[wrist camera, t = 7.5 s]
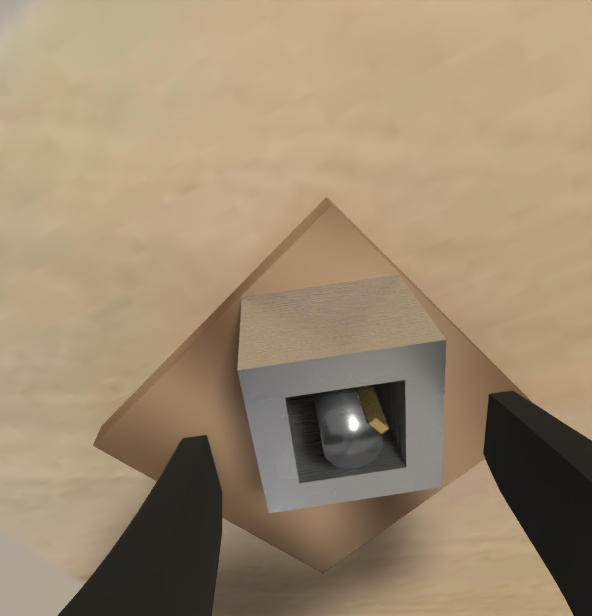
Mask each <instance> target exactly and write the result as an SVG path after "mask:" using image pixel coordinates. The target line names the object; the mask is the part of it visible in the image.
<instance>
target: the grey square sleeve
mask: <svg viewBox="0 0 592 616" xmlns="http://www.w3.org/2000/svg"><path fill="white" fill-rule="evenodd" d="M445 366H446V338H445V337H444V336H443V334H442V333H441V331H440V330H439V329H438V327H437V326H436V325H435V323H434V322H433V320H432V319H431V318H430V316H429V315H428V313H427V312H426V311H425V309H424V308H423V307H422V305H421V304H420V302H419V301H418V300H417V298H416V297H415V295H414V294H413V293H412V291H411V290H410V288H409V287H408V286H407V284H406V283H405V282H404V280H403V279H402V277H401V276H400V275H399V274H398V275H391V276H384V277H378V278H371V279H364V280H357V281H350V282H343V283H336V284H329V285H322V286H315V287H308V288H301V289H294V290H287V291H280V292H273V293H266V294H259V295H253V296H246V297H242V303H241V319H240V335H239V351H238V367H237V371H238V376H239V380H240V385H241V389H242V394H243V399H244V403H245V408H246V412H247V417H248V421H249V426H250V430H251V435H252V440H253V444H254V449H255V453H256V458H257V462H258V467H259V471H260V476H261V481H262V485H263V490H264V494H265V499H266V503H267V508H268V512H269V513H275V512H281V511H288V510H294V509H301V508H308V507H314V506H321V505H328V504H334V503H341V502H347V501H354V500H361V499H367V498H374V497H381V496H387V495H394V494H400V493H407V492H414V491H420V490H427V489H434V488H440V487H441V477H442V449H443V421H444V393H445ZM367 385H373V387H374V390H375V392H376V395H377V398H378V400H379V403H380V406H381V408H382V411H383V413H384V416H385V419H386V421H387V424H388V427H389V429H388V430H386V431H385V432H384V433H382V434H381V433H380V434H381V437H382V449H381V451H380V453H379V455H378V456H377V457H376V458H375V459H374V460H373V461H371V462H370V463H368V464H366V465H364V466H361V467H358V468H341V467H337V466H335V465H333V464H332V463H330V462H329V461H328V460H327V458H326V457H325V455H324V451H323V446H322V440H321V434H320V429H319V423H318V418H317V412H316V407H315V401H314V396H313V393H320V392H327V391H333V390H340V389H347V388H354V387H361V386H367Z"/></svg>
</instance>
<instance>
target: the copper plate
mask: <svg viewBox="0 0 592 616" xmlns="http://www.w3.org/2000/svg"><path fill="white" fill-rule="evenodd" d="M398 274H399V275H400V276H401V277H402V279H403V280H404V282H405V283H406V284H407V286H408V287H409V288H410V290H411V291H412V293H413V294H414V295H415V297H416V298H417V300H418V301H419V302H420V304H421V305H422V307H423V308H424V309H425V311H426V312H427V313H428V315H429V316H430V318H431V319H432V320H433V322H434V323H435V325H436V326H437V327H438V329H439V330H440V331H441V333H442V334H443V336H444V337H445V338H446V366H445V393H444V421H443V449H442V477H441V487H440V488H434V489H427V490H420V491H414V492H407V493H400V494H394V495H387V496H381V497H374V498H367V499H361V500H354V501H347V502H341V503H334V504H328V505H321V506H314V507H308V508H301V509H294V510H288V511H281V512H275V513H269V512H268V508H267V503H266V499H265V494H264V490H263V485H262V481H261V476H260V471H259V467H258V462H257V458H256V453H255V449H254V444H253V440H252V435H251V430H250V426H249V421H248V417H247V412H246V408H245V403H244V399H243V394H242V389H241V385H240V380H239V376H238V371H237V367H238V351H239V335H240V319H241V303H242V297H246V296H253V295H259V294H266V293H273V292H280V291H287V290H294V289H301V288H308V287H315V286H322V285H329V284H336V283H343V282H350V281H357V280H364V279H371V278H378V277H384V276H391V275H398ZM512 390H513V391H514V392H516V393H518V394H519V395H521V396H522V397H524V398H526V399H527V400H529V399H528V398H527V397H526V396H525V395H524V394H523V393H522V392H521V391H520V390H519V389H518V388H517V387H516V386H515V385H514V384H513V383H512V382H511V381H510V380H509V379H508V378H507V377H506V376H505V375H504V374H503V373H502V372H501V371H500V370H499V369H498V368H497V367H496V366H495V365H494V364H493V363H492V362H491V361H490V360H489V359H488V358H487V357H486V356H485V355H484V354H483V353H482V352H481V351H480V350H479V349H478V348H477V347H476V346H475V345H474V344H473V343H472V342H471V341H470V340H469V339H468V338H467V337H466V336H465V335H464V334H463V333H462V332H461V331H460V330H459V329H458V328H457V327H456V326H455V325H454V324H453V323H452V322H451V321H450V320H449V319H448V318H447V317H446V316H445V315H444V314H443V313H442V312H441V311H440V310H439V309H438V308H437V307H436V306H435V305H434V304H433V303H432V302H431V301H430V300H429V299H428V298H427V297H426V296H425V295H424V294H423V293H422V292H421V291H420V290H419V289H418V288H417V287H416V286H415V285H414V284H413V283H412V282H411V281H410V280H409V279H408V278H407V277H406V276H405V275H404V274H403V273H402V272H401V271H400V270H399V269H398V268H397V267H396V266H395V265H394V264H393V263H392V262H391V261H390V260H389V259H388V258H387V257H386V256H385V255H384V254H383V253H382V252H381V251H380V250H379V249H378V248H377V247H376V246H375V245H374V244H373V243H372V242H371V241H370V240H369V239H368V238H367V237H366V236H365V235H364V234H363V233H362V232H361V231H360V230H359V229H358V228H357V227H356V226H355V225H354V224H353V223H352V222H351V221H350V220H349V219H348V218H347V217H346V216H345V215H344V214H343V213H342V212H341V211H340V210H339V209H338V208H337V207H336V206H335V205H334V204H333V203H332V202H331V201H330V200H329V199H328V198H327V197H326V198H325V199H324V200H323V201H322V202H321V203H320V204H319V206H318V207H317V208H316V209H315V210H314V211H313V212H312V213H311V214H310V215H309V216H308V217H307V218H306V219H305V220H304V221H303V222H302V223H301V224H300V225H299V226H298V227H297V228H296V229H295V230H294V231H293V232H292V233H291V234H290V235H289V236H288V237H287V238H286V239H285V240H284V241H283V242H282V243H281V244H280V245H279V246H278V247H277V248H276V249H275V250H274V251H273V252H272V253H271V254H270V255H269V256H268V257H267V258H266V260H265V261H264V262H263V263H262V264H261V265H260V266H259V267H258V268H257V269H256V270H255V271H254V272H253V273H252V274H251V275H250V276H249V277H248V278H247V279H246V280H245V281H244V282H243V283H242V284H241V285H240V286H239V287H238V288H237V289H236V290H235V291H234V292H233V293H232V294H231V295H230V296H229V297H228V298H227V299H226V300H225V301H224V302H223V303H222V304H221V305H220V306H219V307H218V308H217V309H216V310H215V311H214V312H213V313H212V315H211V316H210V317H209V318H208V319H207V320H206V321H205V322H204V323H203V324H202V325H201V326H200V327H199V328H198V329H197V330H196V331H195V332H194V333H193V334H192V335H191V336H190V337H189V338H188V339H187V340H186V341H185V342H184V343H183V344H182V345H181V346H180V347H179V348H178V349H177V350H176V351H175V352H174V353H173V354H172V355H171V356H170V357H169V358H168V359H167V360H166V361H165V362H164V363H163V364H162V365H161V366H160V367H159V369H158V370H157V371H156V372H155V373H154V374H153V375H152V376H151V377H150V378H149V379H148V380H147V381H146V382H145V383H144V384H143V385H142V386H141V387H140V388H139V389H138V390H137V391H136V392H135V393H134V394H133V395H132V396H131V397H130V398H129V399H128V400H127V401H126V402H125V403H124V404H123V405H122V406H121V407H120V408H119V409H118V410H117V411H116V412H115V413H114V414H113V415H112V416H111V417H110V418H109V419H108V420H107V421H106V422H105V424H104V425H103V426H102V427H101V429H100V431H99V433H98V435H97V438H96V440H95V442H94V445H93V446H95V447H96V448H98V449H100V450H102V451H104V452H105V453H107V454H109V455H111V456H113V457H114V458H116V459H118V460H120V461H122V462H123V463H125V464H127V465H129V466H131V467H132V468H134V469H136V470H138V471H140V472H141V473H143V474H145V475H147V476H149V477H150V478H152V479H154V480H156V481H158V479H159V477H160V476H161V474H162V472H163V471H164V469H165V467H166V465H167V464H168V462H169V460H170V458H171V457H172V455H173V453H174V451H175V449H176V448H177V446H178V444H179V442H180V441H181V440H182V439H183V438H188V437H195V436H202V435H207V437H208V441H209V444H210V448H211V452H212V455H213V459H214V463H215V467H216V470H217V474H218V478H219V481H220V485H221V489H222V518H224V519H226V520H228V521H230V522H231V523H233V524H235V525H237V526H239V527H240V528H242V529H244V530H246V531H248V532H249V533H251V534H253V535H255V536H257V537H258V538H260V539H262V540H264V541H266V542H267V543H269V544H271V545H273V546H275V547H276V548H278V549H280V550H282V551H284V552H285V553H287V554H289V555H291V556H293V557H294V558H296V559H298V560H300V561H302V562H303V563H305V564H307V565H309V566H310V567H312V568H314V569H316V570H318V571H319V572H321V573H323V572H325V571H326V570H328V569H329V568H331V567H332V566H333V565H335V564H336V563H338V562H339V561H341V560H342V559H343V558H345V557H346V556H348V555H349V554H350V553H352V552H353V551H355V550H356V549H358V548H359V547H360V546H362V545H363V544H365V543H366V542H368V541H369V540H370V539H372V538H373V537H375V536H376V535H377V534H379V533H380V532H382V531H383V530H385V529H386V528H387V527H389V526H390V525H392V524H393V523H395V522H396V521H397V520H399V519H400V518H402V517H403V516H404V515H406V514H407V513H409V512H410V511H412V510H413V509H414V508H416V507H417V506H419V505H420V504H422V503H423V502H424V501H426V500H427V499H429V498H430V497H431V496H433V495H434V494H436V493H437V492H439V491H440V490H441V489H443V488H444V487H446V486H447V485H449V484H450V483H451V482H453V481H454V480H456V479H457V478H458V477H460V476H461V475H463V474H464V473H466V472H467V471H468V470H470V469H471V468H473V467H474V466H475V465H477V464H478V463H480V462H481V461H483V460H484V459H485V457H484V454H483V451H484V440H485V429H486V419H487V408H488V398H489V394H491V393H498V392H505V391H512ZM529 401H530V400H529ZM530 402H531V401H530Z"/></svg>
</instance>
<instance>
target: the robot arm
mask: <svg viewBox="0 0 592 616" xmlns="http://www.w3.org/2000/svg"><path fill="white" fill-rule="evenodd" d="M483 454H484V457H485V459H486V461H487V464H488V466H489V468H490V470H491V473H492V475H493V477H494V479H495V481H496V483H497V485H498V487H499V490H500V492H501V493H502V495H503V497H504V498H505V500H506V502H507V503H508V505H509V507H510V508H511V510H512V511H513V513H514V515H515V516H516V518H517V520H518V521H519V523H520V525H521V526H522V528H523V529H524V531H525V533H526V534H527V536H528V537H529V539H530V541H531V542H532V544H533V546H534V547H535V549H536V550H537V552H538V554H539V555H540V557H541V558H542V560H543V562H544V563H545V565H546V567H547V568H548V570H549V571H550V573H551V575H552V576H553V578H554V580H555V581H556V583H557V585H558V587H559V588H560V590H561V592H562V594H563V596H564V597H565V599H566V601H567V603H568V605H569V607H570V609H571V611H572V613H573V615H574V616H592V441H591V440H590V439H588V438H587V437H585V436H583V435H582V434H580V433H579V432H577V431H575V430H574V429H572V428H571V427H569V426H567V425H566V424H564V423H563V422H561V421H560V420H558V419H557V418H555V417H553V416H552V415H550V414H549V413H547V412H546V411H544V410H543V409H541V408H540V407H538V406H537V405H535V404H533V403H532V402H530V401H529V400H527V399H526V398H524V397H522V396H521V395H519V394H518V393H516V392H514V391H513V390H512V391H505V392H498V393H491V394H489V398H488V408H487V419H486V429H485V440H484V451H483ZM221 536H222V489H221V485H220V481H219V478H218V474H217V470H216V467H215V463H214V459H213V455H212V452H211V448H210V444H209V441H208V437H207V435H202V436H195V437H188V438H183V439H182V440H181V441H180V442H179V444H178V446H177V448H176V449H175V451H174V453H173V455H172V457H171V458H170V460H169V462H168V464H167V465H166V467H165V469H164V471H163V472H162V474H161V476H160V477H159V479H158V481H157V482H156V484H155V486H154V487H153V489H152V490H151V492H150V494H149V495H148V497H147V498H146V500H145V502H144V503H143V505H142V506H141V508H140V510H139V511H138V513H137V514H136V516H135V517H134V519H133V520H132V521H131V523H130V524H129V526H128V527H127V529H126V530H125V531H124V533H123V534H122V536H121V537H120V539H119V540H118V541H117V543H116V544H115V546H114V547H113V548H112V550H111V551H110V553H109V554H108V555H107V556H106V558H105V559H104V560H103V562H102V563H101V564H100V566H99V567H98V568H97V570H96V571H95V572H94V573H93V575H92V576H91V577H90V578H89V579H88V581H87V582H86V583H85V584H84V586H83V587H82V588H81V589H80V590H79V592H78V593H77V594H76V595H75V596H74V597H73V599H72V600H71V601H70V602H69V603H68V604H67V605H66V607H65V608H64V609H63V610H62V611H61V612H60V613H59V615H58V616H212V608H213V600H214V592H215V584H216V577H217V569H218V561H219V553H220V544H221Z"/></svg>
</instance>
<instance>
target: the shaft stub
mask: <svg viewBox="0 0 592 616" xmlns="http://www.w3.org/2000/svg"><path fill="white" fill-rule="evenodd" d="M313 396H314V401H315V407H316V412H317V418H318V423H319V429H320V434H321V440H322V446H323V451H324V455H325V457H326V458H327V460H328V461H329V462H330V463H332V464H333V465H335V466H337V467H341V468H358V467H361V466H364V465H366V464H368V463H370V462H371V461H373V460H374V459H375V458H376V457H377V456H378V455H379V453H380V451H381V449H382V437H381V434H382V433H384V432H385V431H386V430H388V429H389V427H388V424H387V421H386V419H385V416H384V413H383V411H382V408H381V406H380V403H379V400H378V398H377V395H376V392H375V390H374V387H373V385H367V386H361V387H354V388H347V389H340V390H333V391H327V392H320V393H313ZM380 433H381V434H380Z"/></svg>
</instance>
